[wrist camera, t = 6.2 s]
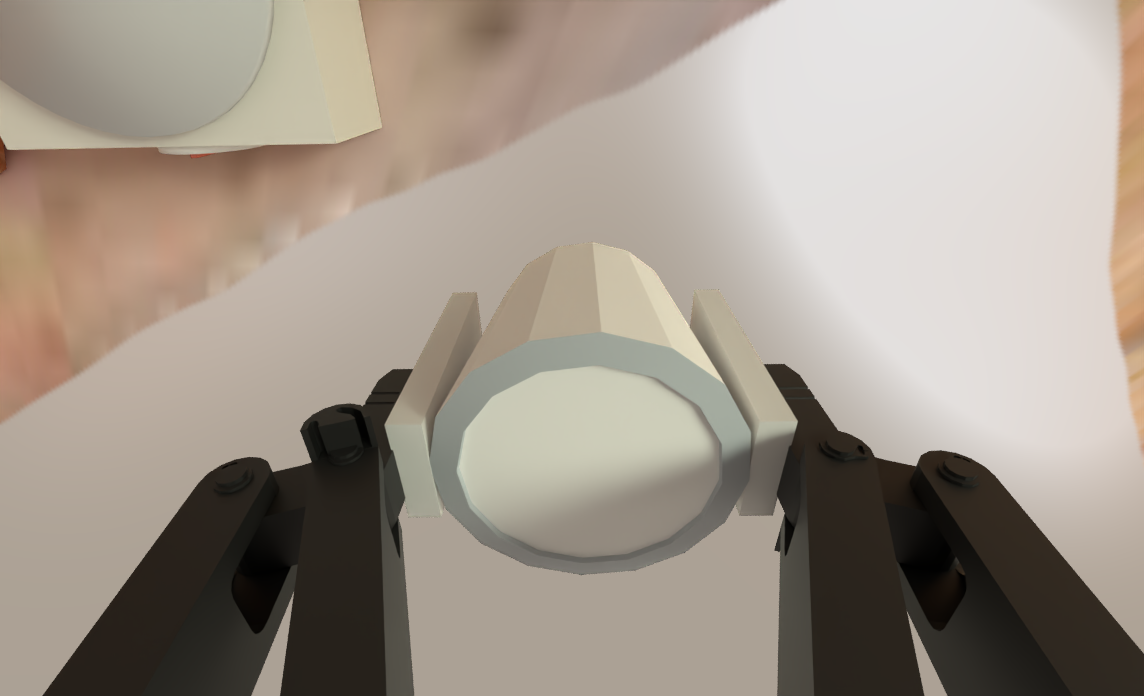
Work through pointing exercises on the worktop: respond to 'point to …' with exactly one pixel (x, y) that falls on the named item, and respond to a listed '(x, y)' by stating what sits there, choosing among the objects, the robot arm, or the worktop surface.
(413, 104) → the worktop surface
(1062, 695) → the robot arm
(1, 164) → the bread
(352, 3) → the kitchen scale
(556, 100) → the worktop surface
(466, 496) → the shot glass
